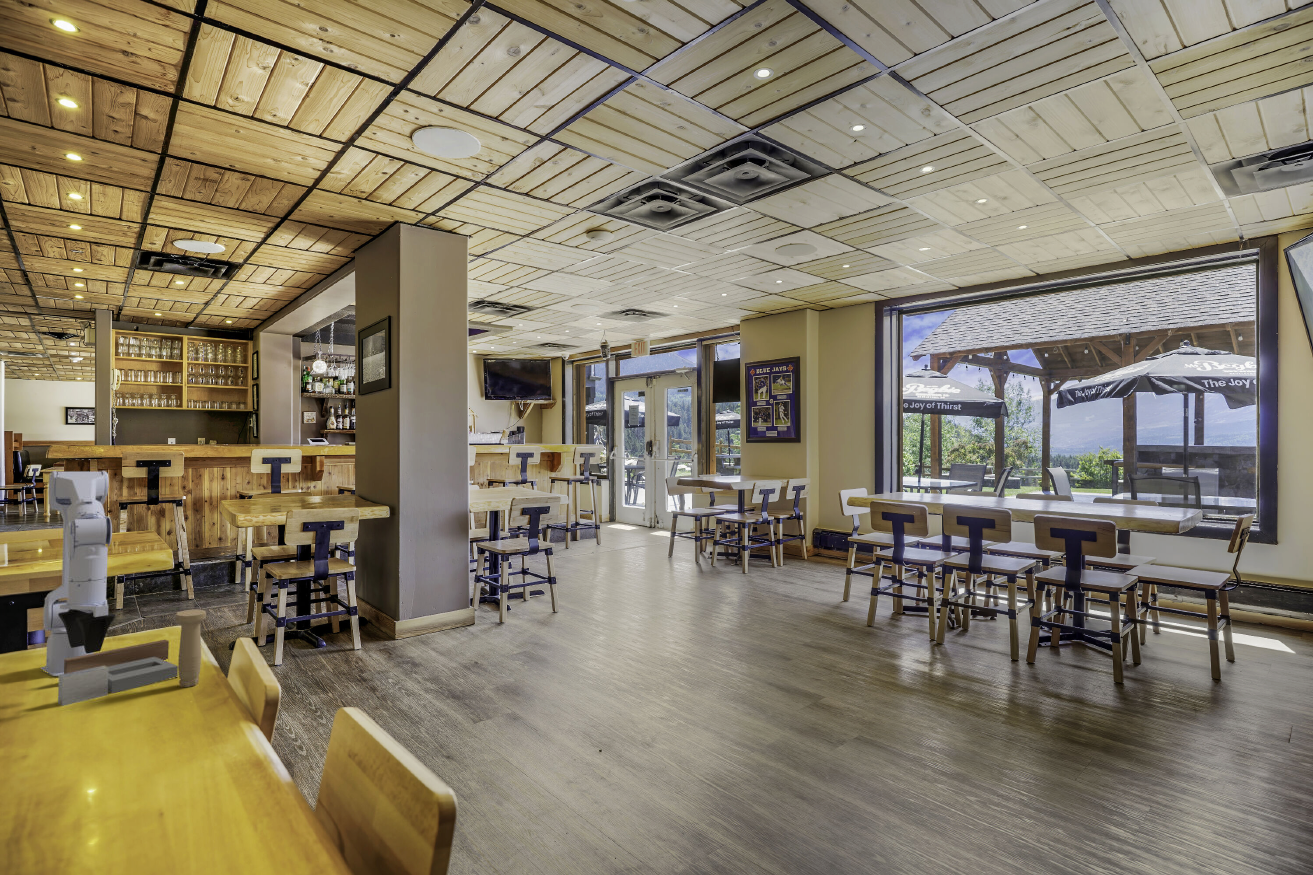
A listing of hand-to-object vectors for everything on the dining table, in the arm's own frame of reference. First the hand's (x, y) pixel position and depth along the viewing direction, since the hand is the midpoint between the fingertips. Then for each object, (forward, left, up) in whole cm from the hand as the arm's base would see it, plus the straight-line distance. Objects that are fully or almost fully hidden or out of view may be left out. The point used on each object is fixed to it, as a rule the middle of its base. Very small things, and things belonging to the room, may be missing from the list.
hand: (85, 649), depth 129 cm
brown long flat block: (-14, +10, -10) cm, 19 cm away
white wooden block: (0, 0, -10) cm, 10 cm away
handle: (+8, +15, -10) cm, 20 cm away
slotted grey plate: (-5, +10, -10) cm, 15 cm away
